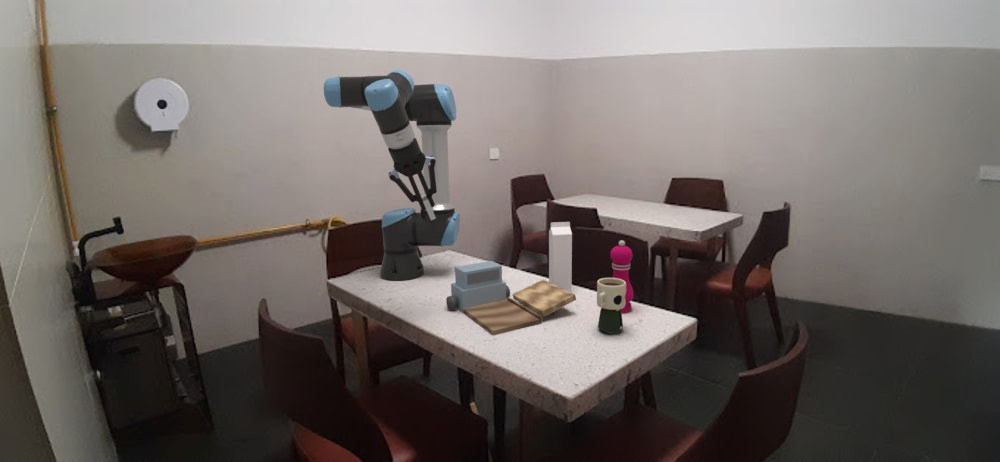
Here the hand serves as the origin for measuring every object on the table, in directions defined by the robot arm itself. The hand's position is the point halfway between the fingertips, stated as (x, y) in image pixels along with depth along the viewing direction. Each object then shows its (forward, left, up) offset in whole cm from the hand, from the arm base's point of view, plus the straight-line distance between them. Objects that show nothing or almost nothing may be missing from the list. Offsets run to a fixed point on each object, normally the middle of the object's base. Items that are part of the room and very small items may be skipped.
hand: (432, 217), depth 142 cm
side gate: (+16, +20, -25) cm, 36 cm away
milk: (+5, +39, -27) cm, 48 cm away
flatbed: (+15, +12, -27) cm, 34 cm away
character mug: (+37, +32, -27) cm, 56 cm away
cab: (+2, +12, -27) cm, 30 cm away
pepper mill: (+27, +44, -27) cm, 59 cm away
